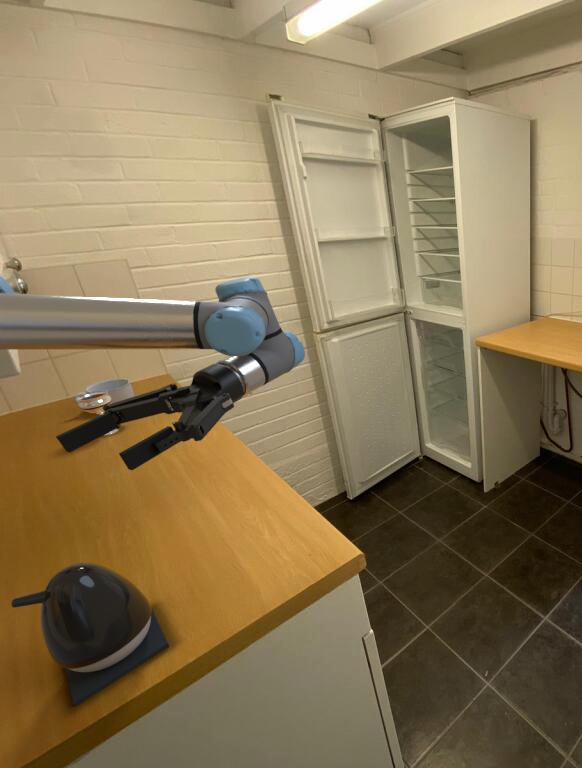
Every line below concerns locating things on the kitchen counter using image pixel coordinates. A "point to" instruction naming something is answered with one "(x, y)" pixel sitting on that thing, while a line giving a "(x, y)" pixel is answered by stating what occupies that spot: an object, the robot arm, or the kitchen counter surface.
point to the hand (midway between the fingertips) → (92, 453)
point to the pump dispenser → (90, 617)
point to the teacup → (111, 389)
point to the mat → (117, 666)
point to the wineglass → (95, 403)
